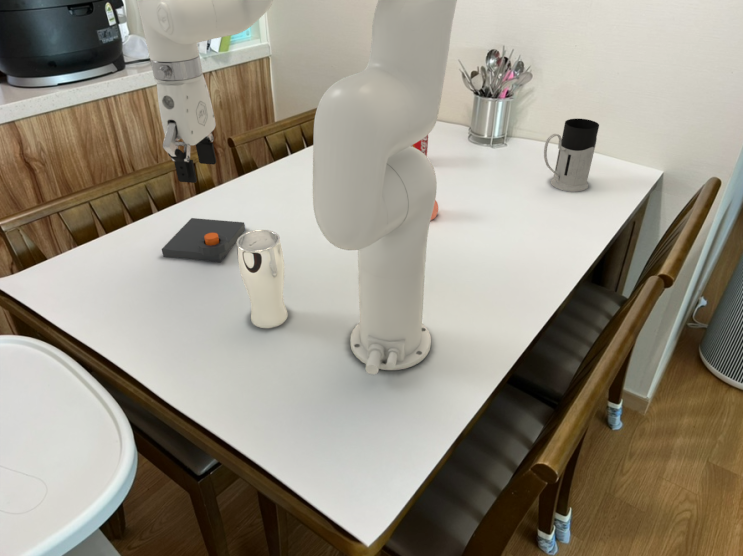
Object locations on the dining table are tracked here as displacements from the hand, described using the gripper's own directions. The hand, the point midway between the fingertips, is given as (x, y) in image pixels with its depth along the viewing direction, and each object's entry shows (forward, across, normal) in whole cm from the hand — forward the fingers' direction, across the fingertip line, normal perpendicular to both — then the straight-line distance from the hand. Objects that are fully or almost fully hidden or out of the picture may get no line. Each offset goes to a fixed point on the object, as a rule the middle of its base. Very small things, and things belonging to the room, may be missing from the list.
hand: (198, 171), depth 97 cm
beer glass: (+18, -16, -17) cm, 30 cm away
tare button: (+15, 0, 0) cm, 15 cm away
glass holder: (+18, +44, -70) cm, 85 cm away
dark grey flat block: (+18, +4, +4) cm, 19 cm away
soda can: (+18, +53, -33) cm, 65 cm away
